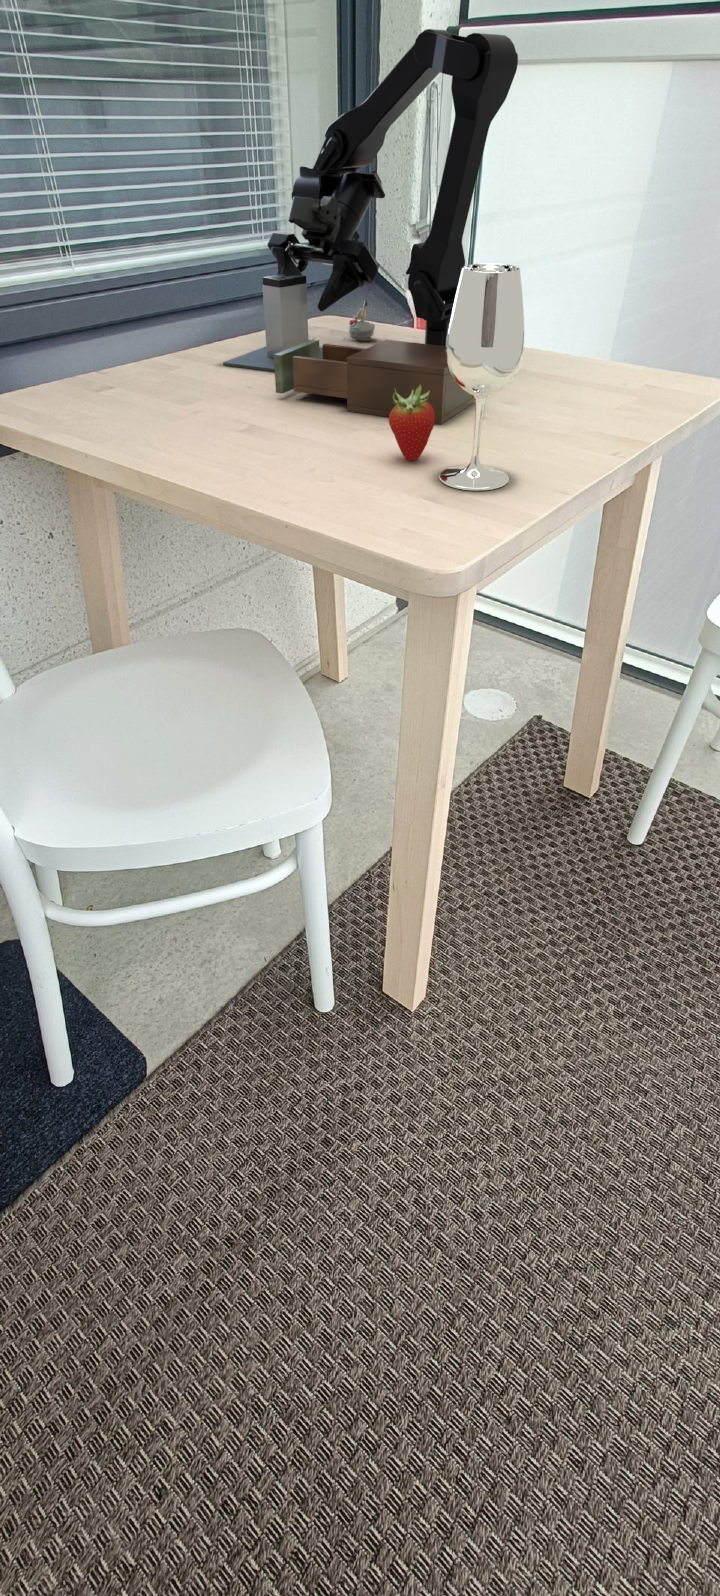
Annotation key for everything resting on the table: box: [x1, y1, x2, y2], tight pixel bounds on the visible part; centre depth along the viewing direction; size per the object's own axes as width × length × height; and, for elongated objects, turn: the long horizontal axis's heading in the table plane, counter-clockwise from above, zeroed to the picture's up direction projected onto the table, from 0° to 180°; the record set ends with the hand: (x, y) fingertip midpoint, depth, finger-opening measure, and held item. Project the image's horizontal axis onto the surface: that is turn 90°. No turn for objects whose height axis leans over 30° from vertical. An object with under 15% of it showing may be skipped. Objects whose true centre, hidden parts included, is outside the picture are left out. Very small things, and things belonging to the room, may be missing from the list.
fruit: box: [388, 384, 435, 462], centre depth 98 cm, size 5×5×8 cm
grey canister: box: [261, 273, 310, 358], centre depth 136 cm, size 6×4×11 cm
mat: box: [222, 346, 323, 373], centre depth 139 cm, size 16×14×1 cm
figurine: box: [348, 299, 376, 342], centre depth 148 cm, size 5×4×6 cm
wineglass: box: [438, 262, 525, 492], centre depth 89 cm, size 8×8×20 cm
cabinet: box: [346, 339, 475, 425], centre depth 116 cm, size 14×12×7 cm
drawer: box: [274, 339, 367, 399], centre depth 120 cm, size 14×10×5 cm
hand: (297, 305), depth 136 cm, fingers open, 9 cm apart
